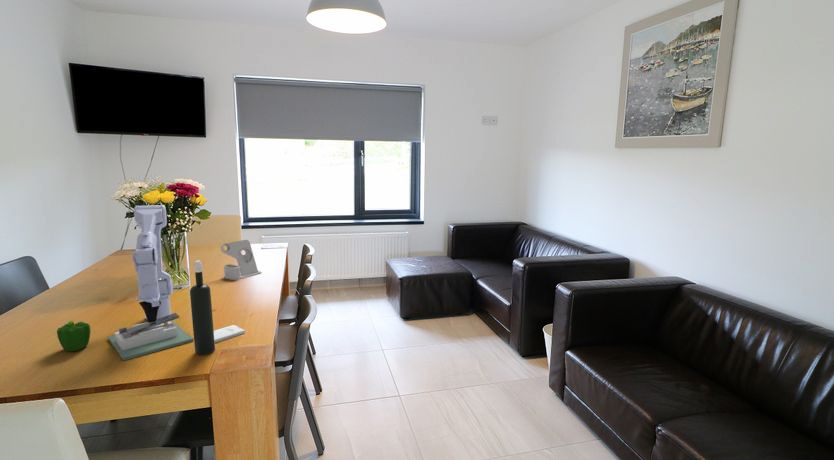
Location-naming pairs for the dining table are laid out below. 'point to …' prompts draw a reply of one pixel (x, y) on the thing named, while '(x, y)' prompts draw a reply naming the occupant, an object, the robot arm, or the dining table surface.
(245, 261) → the phone holder
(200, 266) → the wine bottle
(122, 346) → the green base plate
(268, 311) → the dining table surface
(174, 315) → the strap
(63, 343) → the bell pepper
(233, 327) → the external hard drive
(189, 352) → the dining table surface
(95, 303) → the dining table surface
